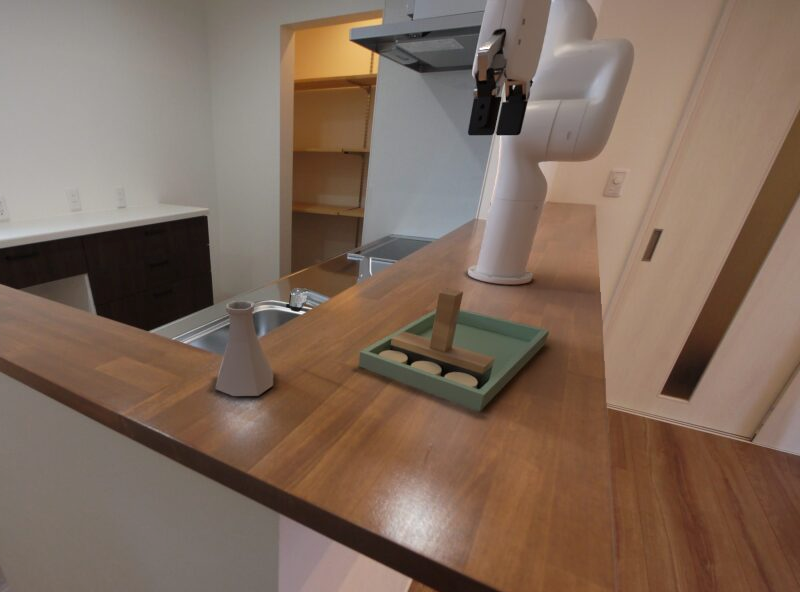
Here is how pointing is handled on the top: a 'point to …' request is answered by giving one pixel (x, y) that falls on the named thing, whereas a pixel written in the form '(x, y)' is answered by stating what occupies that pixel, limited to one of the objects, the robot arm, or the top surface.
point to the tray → (472, 333)
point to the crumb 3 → (462, 378)
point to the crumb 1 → (395, 356)
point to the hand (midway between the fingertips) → (494, 135)
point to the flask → (243, 355)
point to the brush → (444, 343)
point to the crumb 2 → (428, 367)
